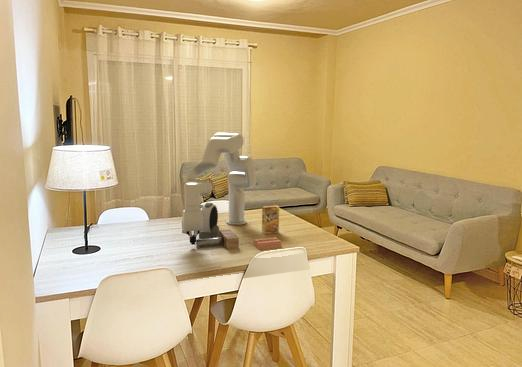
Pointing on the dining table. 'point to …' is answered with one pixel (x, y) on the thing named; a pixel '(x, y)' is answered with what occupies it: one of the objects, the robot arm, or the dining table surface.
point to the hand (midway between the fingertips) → (192, 243)
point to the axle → (209, 242)
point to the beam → (229, 239)
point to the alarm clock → (209, 222)
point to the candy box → (270, 219)
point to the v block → (267, 243)
